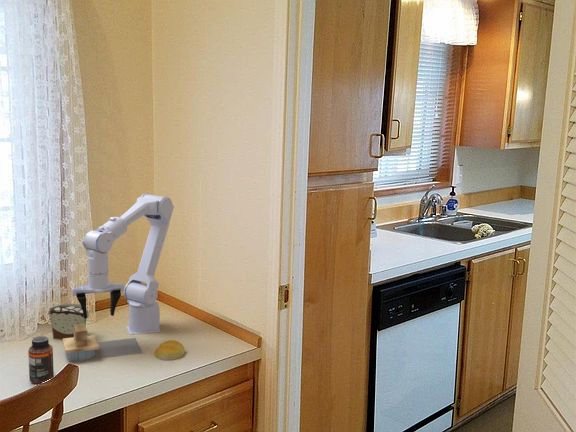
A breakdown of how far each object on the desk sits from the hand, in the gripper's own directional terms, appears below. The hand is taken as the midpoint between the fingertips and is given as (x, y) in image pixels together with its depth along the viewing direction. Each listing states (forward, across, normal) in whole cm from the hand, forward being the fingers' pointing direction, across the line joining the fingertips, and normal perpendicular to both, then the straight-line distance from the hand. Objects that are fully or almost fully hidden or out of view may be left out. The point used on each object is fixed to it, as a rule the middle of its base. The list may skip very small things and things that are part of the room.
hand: (98, 316), depth 180 cm
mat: (+10, +5, -3) cm, 12 cm away
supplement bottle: (+10, -17, -17) cm, 26 cm away
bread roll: (+10, +18, -12) cm, 24 cm away
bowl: (+10, -6, -5) cm, 12 cm away
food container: (+10, -7, +10) cm, 16 cm away
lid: (+6, -6, -5) cm, 10 cm away
